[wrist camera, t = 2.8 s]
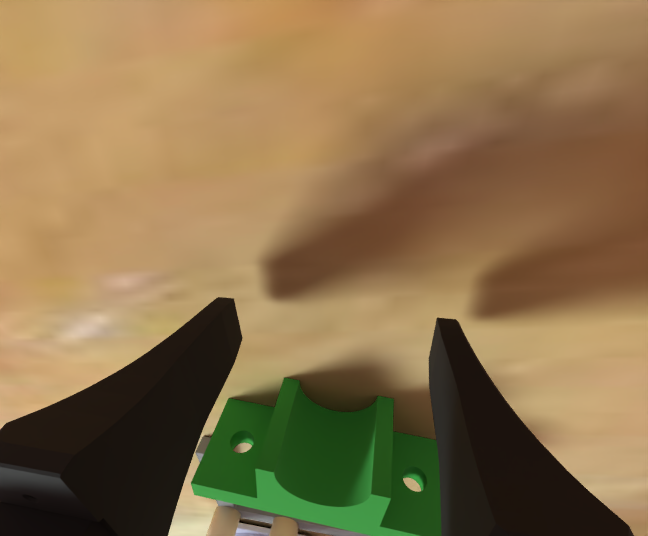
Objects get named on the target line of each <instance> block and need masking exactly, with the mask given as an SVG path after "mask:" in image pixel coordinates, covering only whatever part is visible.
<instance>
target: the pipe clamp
mask: <svg viewBox="0 0 648 536" xmlns="http://www.w3.org/2000/svg"><path fill="white" fill-rule="evenodd" d="M393 408H394V399H392V398H387V397H382V396H377V399H376V401H375V402H374V403H373V404H372V405H371V406H369V407H367V408H365V409H363V410H360V411H355V412H339V411H333V410H329V409H326V408H323V407H321V406H319V405H317V404H315V403H314V402H312V401H311V400H310V399H309V398H308V397H307V396H306V395H305V394H304V393H303V391H302V389H301V387H300V381H299V380H294V379H289V378H284V380H283V383H282V387H281V390H280V393H279V396H278V399H277V402H276V405H275V407H270V406H265V405H260V404H256V403H251V402H246V401H241V400H236V399H231V398H229V399H228V401H227V403H226V405H225V408H224V410H223V412H222V414H221V417H220V419H219V421H218V423H217V426H216V428H215V430H214V432H213V435H212V437H211V439H210V441H209V444H208V446H207V448H206V450H205V453H204V455H203V457H202V459H201V462H200V464H199V466H198V468H197V471H196V473H195V475H194V477H193V480H192V482H191V485H192V489H193V492H194V495H198V496H202V497H206V498H211V499H215V500H219V501H223V502H228V503H232V504H236V505H241V506H245V507H249V508H254V509H258V510H262V511H267V512H271V513H275V514H279V515H284V516H288V517H292V518H297V519H301V520H305V521H310V522H314V523H318V524H323V525H327V526H331V527H335V528H340V529H344V530H348V531H353V532H357V533H361V534H366V535H370V536H441V503H440V475H439V459H438V449H437V441H436V440H433V439H428V438H423V437H419V436H414V435H409V434H404V433H399V432H394V431H393ZM240 443H249V444H251V445H252V447H251V449H250V450H248V451H247V452H244V453H236V452H234V451H233V449H234V448H235V447H236V446H237V445H238V444H240ZM403 478H412V479H414V480H415V481H416V482H417V483H418V484H419V485H420V487H421V491H420V492H415V491H412V490H410V489H409V488H408V487H407V486H406V485H405V483H404V481H403Z"/></svg>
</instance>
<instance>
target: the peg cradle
mask: <svg viewBox="0 0 648 536" xmlns="http://www.w3.org/2000/svg"><path fill="white" fill-rule="evenodd" d="M210 439H211V437H204V436H203V437H202V440H201V442H200V444H199V446H198V448H197V450H196V455H197V457H198V459H199V462H201V459H202V457H203V455H204V453H205V450H206V448H207V446H208V444H209V441H210ZM216 501H217V504H218V507H217V508H216V510H215V513H214V515H213V518H212V521H211V524H210V526H209V529H208V532H207V534H206V536H235V534H236V530H237V527H238V524H239V521H240V518H244V519H250V520H255V521H260V522H265V523H271V524H272V526H271V530H270V534H269V536H297V534H298V529H302V530H307V531H313V532H318V533H323V534H328V535H334V536H370V535H366V534H361V533H357V532H353V531H348V530H344V529H340V528H335V527H331V526H327V525H323V524H318V523H314V522H310V521H305V520H301V519H297V518H292V517H288V516H284V515H279V514H275V513H271V512H267V511H262V510H258V509H254V508H249V507H245V506H241V505H236V504H232V503H228V502H223V501H219V500H216Z"/></svg>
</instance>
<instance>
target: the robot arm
mask: <svg viewBox="0 0 648 536" xmlns="http://www.w3.org/2000/svg"><path fill="white" fill-rule="evenodd" d="M241 341H242V334H241V330H240V325H239V320H238V316H237V311H236V307H235V302H234V299H232V298H222V297H218V298H216V299H215V300H214V301H213V302H211V303H210V304H209V305H208V306H206V307H205V308H204V309H203V310H202V311H200V312H199V313H198V314H197V315H196V316H194V317H193V318H192V319H191V320H190V321H188V322H187V323H186V324H185V325H183V326H182V327H181V328H180V329H178V330H177V331H176V332H175V333H173V334H172V335H171V336H169V337H168V338H167V339H165V340H164V341H162V342H161V343H160V344H158V345H157V346H156V347H154V348H153V349H152V350H150V351H149V352H147V353H146V354H144V355H143V356H141V357H140V358H138V359H137V360H135V361H134V362H132V363H131V364H129V365H127V366H126V367H124V368H122V369H121V370H119V371H117V372H116V373H114V374H112V375H110V376H108V377H107V378H105V379H103V380H101V381H99V382H97V383H96V384H94V385H92V386H90V387H88V388H86V389H84V390H82V391H80V392H78V393H76V394H74V395H72V396H70V397H68V398H66V399H63V400H61V401H59V402H57V403H55V404H52V405H50V406H48V407H45V408H43V409H41V410H38V411H36V412H33V413H31V414H28V415H26V416H23V417H21V418H18V419H16V420H13V421H10V422H8V423H6V424H5V425H4V426H3V427H2V428H1V429H0V536H168V533H169V529H170V526H171V522H172V519H173V515H174V512H175V509H176V506H177V502H178V499H179V496H180V493H181V490H182V487H183V483H184V480H185V477H186V474H187V472H188V469H189V466H190V463H191V460H192V457H193V454H194V451H195V449H196V446H197V443H198V441H199V438H200V435H201V433H202V430H203V427H204V425H205V423H206V421H207V418H208V416H209V414H210V412H211V410H212V408H213V406H214V404H215V402H216V400H217V398H218V396H219V394H220V392H221V390H222V388H223V386H224V384H225V382H226V379H227V377H228V375H229V373H230V371H231V369H232V367H233V365H234V362H235V359H236V357H237V354H238V351H239V348H240V345H241ZM429 389H430V396H431V404H432V412H433V419H434V426H435V434H436V441H437V449H438V459H439V475H440V503H441V536H634V535H633V533H632V531H631V529H630V527H629V526H628V525H627V524H626V523H625V522H624V521H623V520H622V519H620V518H619V517H618V516H617V515H616V514H615V513H613V512H612V511H611V510H610V509H609V508H608V507H607V506H605V505H604V504H603V503H602V502H601V501H600V500H598V499H597V498H596V497H595V496H594V495H593V494H592V493H590V492H589V491H588V490H587V489H586V488H585V487H584V486H583V485H582V484H581V483H580V482H579V481H578V480H577V479H575V478H574V477H573V476H572V475H571V474H570V473H569V472H568V471H567V470H566V469H565V468H564V467H563V466H562V465H561V464H560V463H559V461H558V460H557V459H556V458H555V457H554V456H553V455H552V454H551V453H550V452H549V451H548V450H547V449H546V448H545V447H544V446H543V445H542V444H541V443H540V442H539V440H538V439H537V438H536V437H535V436H534V435H533V434H532V432H531V431H530V430H529V429H528V428H527V427H526V425H525V424H524V423H523V422H522V421H521V419H520V418H519V417H518V416H517V414H516V413H515V412H514V411H513V409H512V408H511V407H510V406H509V404H508V403H507V402H506V400H505V399H504V397H503V396H502V395H501V393H500V392H499V390H498V389H497V388H496V386H495V385H494V383H493V382H492V380H491V379H490V377H489V376H488V374H487V373H486V371H485V369H484V368H483V366H482V365H481V363H480V361H479V360H478V358H477V356H476V355H475V353H474V351H473V349H472V348H471V346H470V344H469V342H468V340H467V338H466V337H465V335H464V333H463V331H462V329H461V326H460V324H459V322H458V321H457V320H456V319H445V318H437V320H436V325H435V330H434V336H433V341H432V346H431V351H430V356H429ZM270 530H271V529H270V528H265V527H259V526H254V525H249V524H244V523H239V524H238V527H237V530H236V534H235V536H269V534H270ZM297 536H306V535H301V534H297Z"/></svg>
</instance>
